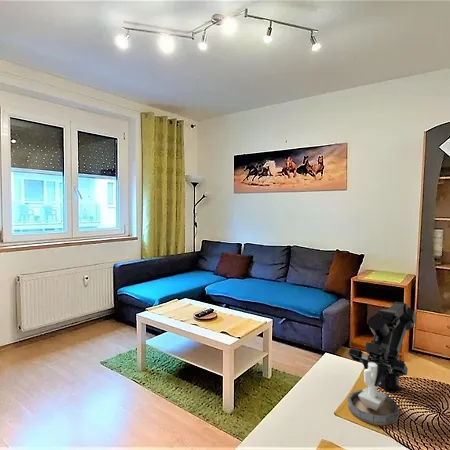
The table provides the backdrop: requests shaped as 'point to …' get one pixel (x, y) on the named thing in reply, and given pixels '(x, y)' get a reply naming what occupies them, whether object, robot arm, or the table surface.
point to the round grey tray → (371, 417)
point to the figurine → (371, 389)
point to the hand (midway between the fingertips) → (371, 384)
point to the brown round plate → (374, 411)
